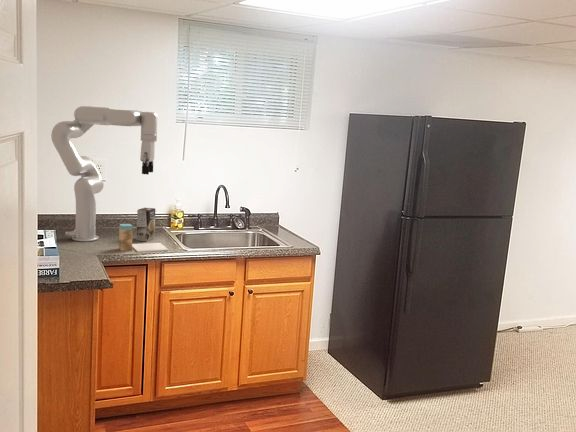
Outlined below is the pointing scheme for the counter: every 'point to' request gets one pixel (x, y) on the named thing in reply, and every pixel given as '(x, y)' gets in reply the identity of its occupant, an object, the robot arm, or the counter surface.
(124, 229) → the tan jar
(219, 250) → the counter surface
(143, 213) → the coffee box
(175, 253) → the counter surface
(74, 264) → the counter surface
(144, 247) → the cutting board
